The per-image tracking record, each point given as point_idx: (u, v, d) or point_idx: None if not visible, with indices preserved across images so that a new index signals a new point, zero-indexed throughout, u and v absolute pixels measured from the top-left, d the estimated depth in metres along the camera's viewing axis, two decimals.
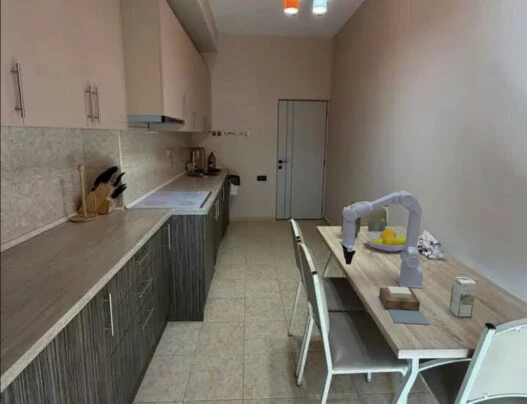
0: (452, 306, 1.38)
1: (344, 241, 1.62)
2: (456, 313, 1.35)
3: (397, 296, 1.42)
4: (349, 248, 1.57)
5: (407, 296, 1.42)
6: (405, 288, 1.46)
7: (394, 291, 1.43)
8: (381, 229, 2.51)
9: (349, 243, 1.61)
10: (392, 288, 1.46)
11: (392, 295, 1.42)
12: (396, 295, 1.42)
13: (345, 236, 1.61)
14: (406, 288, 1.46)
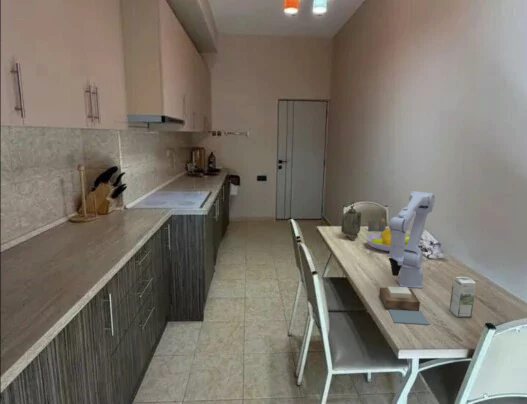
0: (452, 306, 1.38)
1: (393, 253, 1.48)
2: (456, 313, 1.35)
3: (397, 296, 1.42)
4: (400, 261, 1.43)
5: (407, 296, 1.42)
6: (405, 288, 1.46)
7: (394, 291, 1.43)
8: (381, 229, 2.51)
9: (398, 256, 1.47)
10: (392, 288, 1.46)
11: (392, 295, 1.42)
12: (396, 295, 1.42)
13: (394, 248, 1.47)
14: (406, 288, 1.46)
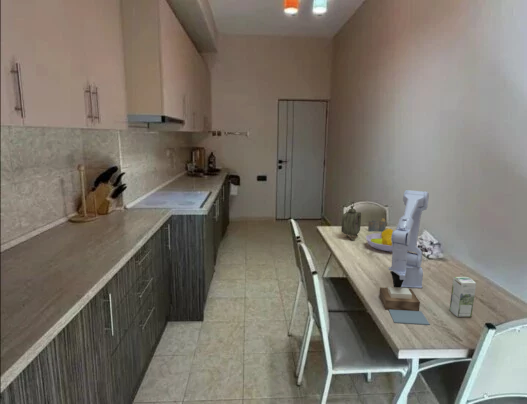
0: (452, 306, 1.38)
1: (395, 267, 1.45)
2: (456, 313, 1.35)
3: (397, 297, 1.42)
4: (402, 276, 1.40)
5: (407, 297, 1.41)
6: (405, 288, 1.46)
7: (395, 292, 1.43)
8: (381, 229, 2.51)
9: (400, 269, 1.44)
10: (392, 289, 1.46)
11: (392, 296, 1.42)
12: (396, 296, 1.42)
13: (396, 262, 1.44)
14: (406, 289, 1.45)
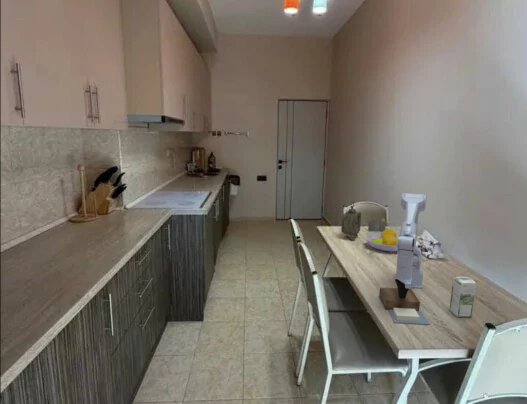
0: (452, 306, 1.38)
1: (399, 275, 1.37)
2: (456, 313, 1.35)
3: None
4: (408, 284, 1.32)
5: None
6: None
7: None
8: (381, 229, 2.51)
9: (406, 277, 1.36)
10: None
11: None
12: None
13: (401, 269, 1.36)
14: None
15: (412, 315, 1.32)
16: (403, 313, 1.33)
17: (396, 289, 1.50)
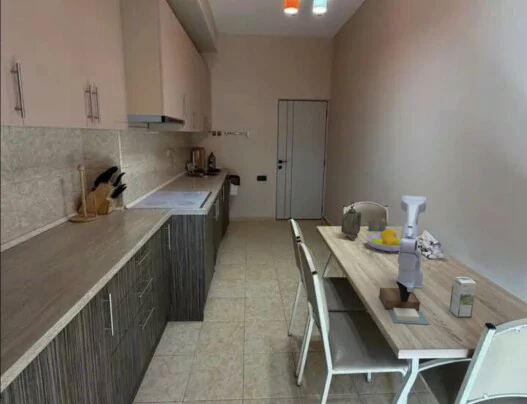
0: (452, 306, 1.38)
1: (401, 278, 1.34)
2: (456, 313, 1.35)
3: None
4: (410, 288, 1.29)
5: None
6: None
7: None
8: (381, 229, 2.51)
9: (408, 281, 1.33)
10: None
11: None
12: None
13: (403, 272, 1.33)
14: None
15: (412, 315, 1.32)
16: (403, 313, 1.33)
17: (396, 289, 1.50)
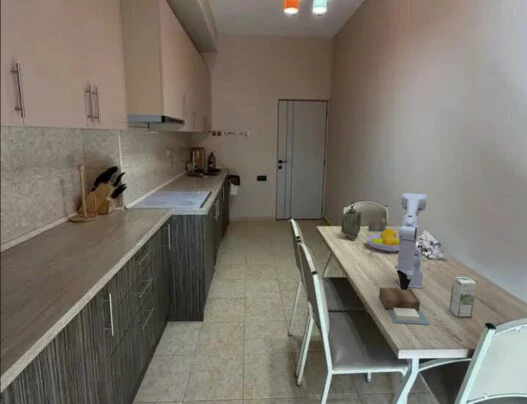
0: (452, 306, 1.38)
1: (401, 266, 1.34)
2: (456, 313, 1.35)
3: None
4: (410, 275, 1.29)
5: None
6: None
7: None
8: (381, 229, 2.51)
9: (408, 268, 1.33)
10: None
11: None
12: None
13: (403, 260, 1.34)
14: None
15: (412, 315, 1.32)
16: (403, 313, 1.33)
17: (396, 289, 1.50)
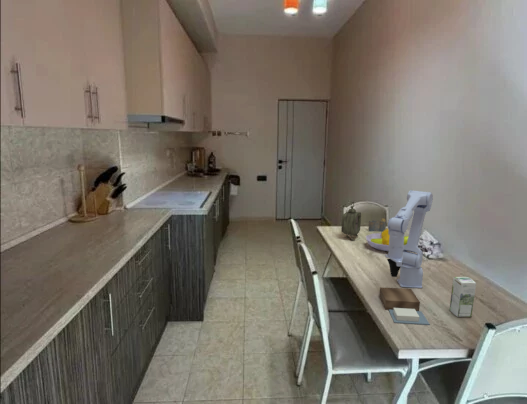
0: (452, 306, 1.38)
1: (391, 254, 1.46)
2: (456, 313, 1.35)
3: None
4: (399, 263, 1.41)
5: None
6: None
7: None
8: (381, 229, 2.51)
9: (397, 257, 1.45)
10: None
11: None
12: None
13: (393, 249, 1.46)
14: None
15: (412, 315, 1.32)
16: (403, 313, 1.33)
17: (396, 289, 1.50)
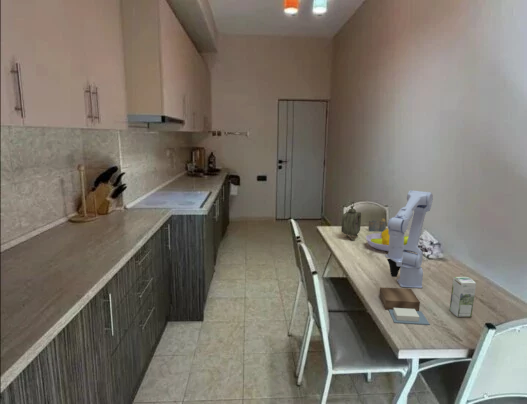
0: (452, 306, 1.38)
1: (391, 254, 1.46)
2: (456, 313, 1.35)
3: None
4: (399, 263, 1.41)
5: None
6: None
7: None
8: (381, 229, 2.51)
9: (397, 257, 1.45)
10: None
11: None
12: None
13: (393, 249, 1.46)
14: None
15: (412, 315, 1.32)
16: (403, 313, 1.33)
17: (396, 289, 1.50)
